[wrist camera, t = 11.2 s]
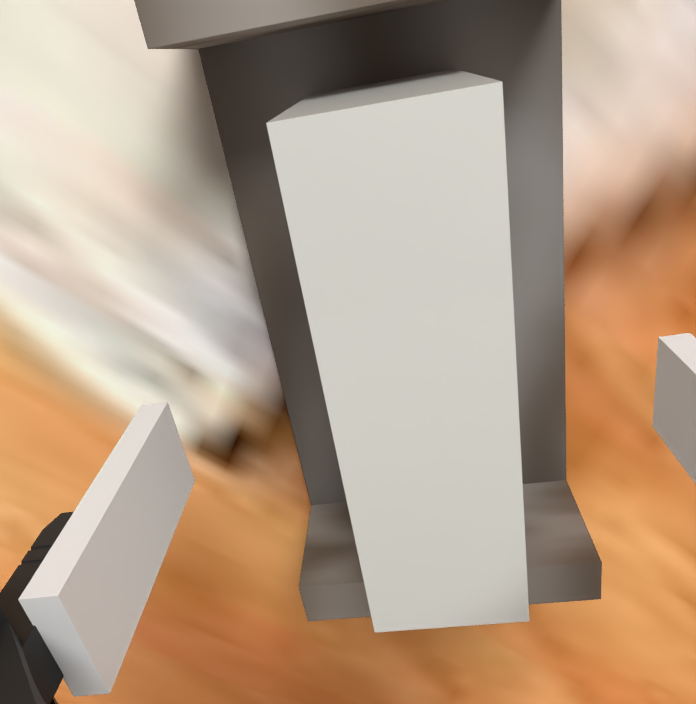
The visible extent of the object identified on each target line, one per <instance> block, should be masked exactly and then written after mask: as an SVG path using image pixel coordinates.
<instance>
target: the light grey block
mask: <svg viewBox="0 0 696 704" xmlns="http://www.w3.org/2000/svg"><path fill="white" fill-rule="evenodd" d="M266 125H267V129H268V134H269V139H270V143H271V148H272V153H273V158H274V162H275V167H276V172H277V176H278V181H279V186H280V190H281V195H282V200H283V204H284V209H285V214H286V219H287V223H288V228H289V233H290V237H291V242H292V247H293V251H294V256H295V261H296V265H297V270H298V275H299V280H300V284H301V289H302V294H303V298H304V303H305V308H306V312H307V317H308V322H309V326H310V331H311V336H312V341H313V345H314V350H315V355H316V359H317V364H318V369H319V373H320V378H321V383H322V387H323V392H324V397H325V402H326V406H327V411H328V416H329V420H330V425H331V430H332V434H333V439H334V444H335V448H336V453H337V458H338V463H339V467H340V472H341V477H342V481H343V486H344V491H345V495H346V500H347V505H348V509H349V514H350V519H351V524H352V528H353V533H354V538H355V542H356V547H357V552H358V556H359V561H360V566H361V570H362V575H363V580H364V585H365V589H366V594H367V599H368V603H369V608H370V613H371V617H372V622H373V627H374V631H375V632H389V631H402V630H416V629H430V628H444V627H457V626H471V625H485V624H498V623H512V622H526V621H529V603H528V583H527V563H526V543H525V523H524V503H523V483H522V463H521V443H520V423H519V403H518V383H517V363H516V343H515V323H514V303H513V283H512V263H511V243H510V223H509V204H508V184H507V164H506V144H505V124H504V104H503V84H502V81H499V80H495V79H492V78H488V77H484V76H480V75H476V74H473V73H469V72H465V71H461V70H458V69H450V70H445V71H439V72H434V73H428V74H422V75H417V76H411V77H406V78H400V79H395V80H389V81H384V82H378V83H372V84H367V85H361V86H356V87H350V88H345V89H339V90H333V91H328V92H322V93H317V94H311V95H309V96H307V97H306V98H304V99H303V100H301V101H299V102H298V103H296V104H295V105H293V106H292V107H290V108H289V109H287V110H285V111H284V112H282V113H281V114H279V115H278V116H276V117H275V118H273V119H271V120H270V121H268V122H267V123H266Z"/></svg>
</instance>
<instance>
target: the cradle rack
mask: <svg viewBox="0 0 696 704" xmlns="http://www.w3.org/2000/svg"><path fill="white" fill-rule="evenodd" d="M134 1H135V5H136V8H137V12H138V15H139V19H140V22H141V26H142V30H143V33H144V37H145V40H146V44H147V47H148V49H199V53H200V57H201V61H202V65H203V69H204V73H205V77H206V81H207V85H208V89H209V93H210V97H211V101H212V105H213V110H214V114H215V118H216V122H217V126H218V130H219V134H220V138H221V142H222V146H223V150H224V154H225V158H226V162H227V166H228V170H229V174H230V178H231V182H232V186H233V191H234V195H235V199H236V203H237V207H238V211H239V215H240V219H241V223H242V227H243V231H244V235H245V239H246V243H247V247H248V251H249V255H250V259H251V263H252V267H253V271H254V276H255V280H256V284H257V288H258V292H259V296H260V300H261V304H262V308H263V312H264V316H265V320H266V324H267V328H268V332H269V336H270V340H271V344H272V348H273V352H274V356H275V361H276V365H277V369H278V373H279V377H280V381H281V385H282V389H283V393H284V397H285V401H286V405H287V409H288V413H289V417H290V421H291V425H292V429H293V433H294V437H295V441H296V446H297V450H298V454H299V458H300V462H301V466H302V470H303V474H304V478H305V482H306V486H307V490H308V494H309V498H310V502H311V510H310V517H309V523H308V530H307V536H306V543H305V550H304V556H303V563H302V569H301V576H300V582H299V590H300V594H301V597H302V601H303V605H304V608H305V612H306V615H307V619H308V621H318V620H331V619H344V618H358V617H371V613H370V608H369V603H368V599H367V594H366V589H365V585H364V580H363V575H362V570H361V566H360V561H359V556H358V552H357V547H356V542H355V538H354V533H353V528H352V524H351V519H350V514H349V509H348V505H347V500H346V495H345V491H344V486H343V481H342V477H341V472H340V467H339V463H338V458H337V453H336V448H335V444H334V439H333V434H332V430H331V425H330V420H329V416H328V411H327V406H326V402H325V397H324V392H323V387H322V383H321V378H320V373H319V369H318V364H317V359H316V355H315V350H314V345H313V341H312V336H311V331H310V326H309V322H308V317H307V312H306V308H305V303H304V298H303V294H302V289H301V284H300V280H299V275H298V270H297V265H296V261H295V256H294V251H293V247H292V242H291V237H290V233H289V228H288V223H287V219H286V214H285V209H284V204H283V200H282V195H281V190H280V186H279V181H278V176H277V172H276V167H275V162H274V158H273V153H272V148H271V143H270V139H269V134H268V129H267V125H266V123H267V122H268V121H270V120H271V119H273V118H275V117H276V116H278V115H279V114H281V113H282V112H284V111H285V110H287V109H289V108H290V107H292V106H293V105H295V104H296V103H298V102H299V101H301V100H303V99H304V98H306V97H307V96H309V95H311V94H317V93H322V92H328V91H333V90H339V89H345V88H350V87H356V86H361V85H367V84H372V83H378V82H384V81H389V80H395V79H400V78H406V77H411V76H417V75H422V74H428V73H434V72H439V71H445V70H450V69H458V70H461V71H465V72H469V73H473V74H476V75H480V76H484V77H488V78H492V79H495V80H499V81H502V84H503V104H504V124H505V144H506V164H507V184H508V204H509V223H510V243H511V263H512V283H513V303H514V323H515V343H516V363H517V383H518V403H519V423H520V443H521V463H522V483H523V503H524V523H525V543H526V563H527V583H528V603H529V604H541V603H554V602H568V601H581V600H594V599H601V569H602V562H601V560H600V557H599V555H598V553H597V550H596V548H595V546H594V543H593V541H592V539H591V536H590V534H589V532H588V529H587V527H586V525H585V522H584V520H583V518H582V515H581V513H580V511H579V508H578V506H577V504H576V502H575V499H574V497H573V495H572V492H571V490H570V488H569V485H568V483H567V481H566V410H565V316H564V223H563V129H562V35H561V0H134Z"/></svg>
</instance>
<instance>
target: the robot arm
mask: <svg viewBox="0 0 696 704" xmlns="http://www.w3.org/2000/svg"><path fill="white" fill-rule="evenodd" d="M653 428H654V429H655V430H656V432H657V433H658V434H659V436H660V437H661V438H662V440H663V441H664V442H665V444H666V445H667V446H668V448H669V449H670V450H671V452H672V453H673V454H674V456H675V457H676V458H677V460H678V461H679V462H680V464H681V465H682V466H683V468H684V469H685V470H686V472H687V473H688V474H689V476H690V477H691V478H692V480H693V481H694V482H695V484H696V338H695V337H694V336H693V335H692V334H690V333H686V334H678V335H671V336H663V337H658V352H657V367H656V382H655V397H654V412H653ZM194 482H195V479H194V476H193V474H192V471H191V468H190V465H189V462H188V459H187V456H186V454H185V451H184V448H183V445H182V442H181V439H180V436H179V434H178V431H177V428H176V425H175V422H174V419H173V416H172V414H171V411H170V408H169V405H168V402H165V403H157V404H149V405H142V406H141V407H140V408H139V410H138V411H137V413H136V415H135V416H134V418H133V419H132V421H131V423H130V424H129V426H128V427H127V429H126V430H125V432H124V434H123V435H122V437H121V438H120V440H119V441H118V443H117V445H116V446H115V448H114V449H113V451H112V452H111V454H110V456H109V457H108V459H107V460H106V462H105V464H104V465H103V467H102V468H101V470H100V471H99V473H98V475H97V476H96V478H95V479H94V481H93V482H92V484H91V486H90V487H89V489H88V490H87V492H86V493H85V495H84V497H83V498H82V500H81V501H80V503H79V505H78V506H77V508H76V509H75V511H74V512H67V513H61V514H60V515H59V516H58V517H57V518H55V519H54V520H53V521H52V522H51V523H50V524H49V525H48V526H46V527H45V528H44V529H43V530H42V532H41V533H40V535H39V536H38V538H37V539H36V541H35V542H34V543H33V545H32V546H31V550H30V551H28V552H27V554H26V555H25V557H24V558H23V560H22V561H21V562H22V564H21V565H19V566H18V567H17V569H16V570H15V572H14V573H13V575H12V576H11V578H10V579H9V581H8V582H7V583H6V585H5V586H4V588H3V589H2V591H1V592H0V704H58V703H57V701H56V699H55V698H54V695H55V693H56V691H57V689H58V687H59V685H60V683H61V681H62V678H63V679H64V680H65V682H66V684H67V686H68V687H69V689H70V691H71V693H72V694H73V696H86V695H98V694H110V692H111V690H112V687H113V685H114V682H115V680H116V677H117V675H118V672H119V670H120V667H121V665H122V662H123V660H124V657H125V655H126V652H127V650H128V647H129V645H130V642H131V640H132V637H133V635H134V632H135V630H136V627H137V625H138V622H139V620H140V617H141V615H142V612H143V610H144V607H145V605H146V602H147V600H148V597H149V595H150V592H151V590H152V587H153V585H154V582H155V580H156V577H157V575H158V572H159V569H160V567H161V564H162V562H163V559H164V557H165V554H166V552H167V549H168V547H169V544H170V542H171V539H172V537H173V534H174V532H175V529H176V527H177V524H178V522H179V519H180V517H181V514H182V512H183V509H184V507H185V504H186V502H187V499H188V497H189V494H190V492H191V489H192V487H193V484H194Z"/></svg>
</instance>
